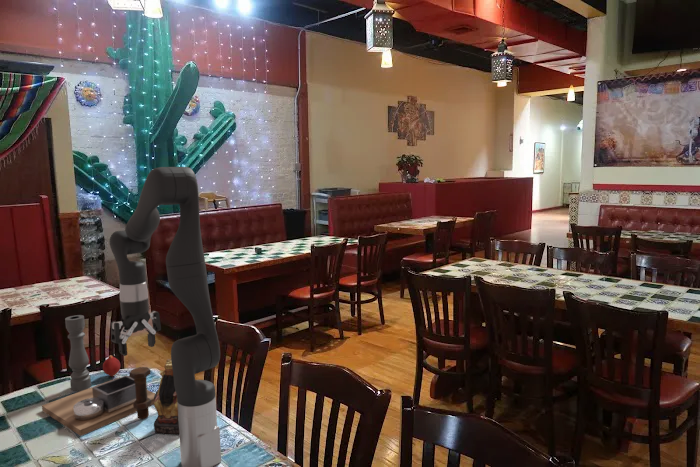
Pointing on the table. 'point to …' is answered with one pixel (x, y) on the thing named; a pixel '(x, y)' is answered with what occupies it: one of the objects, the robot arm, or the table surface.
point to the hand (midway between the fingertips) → (138, 350)
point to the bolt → (141, 391)
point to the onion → (111, 366)
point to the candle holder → (78, 354)
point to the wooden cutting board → (65, 415)
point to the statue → (166, 404)
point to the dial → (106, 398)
